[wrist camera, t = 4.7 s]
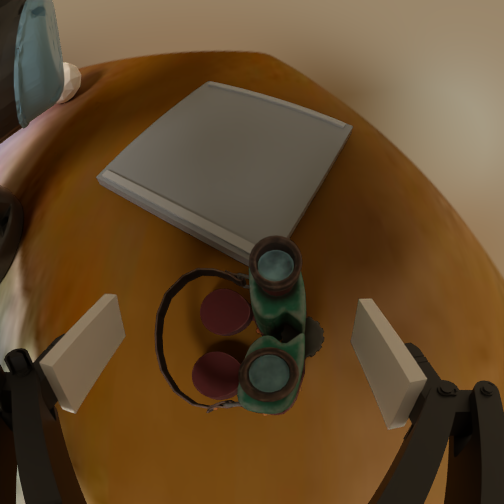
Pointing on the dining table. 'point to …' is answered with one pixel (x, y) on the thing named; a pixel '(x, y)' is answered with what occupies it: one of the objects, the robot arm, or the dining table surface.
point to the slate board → (229, 166)
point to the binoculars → (269, 325)
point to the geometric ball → (70, 82)
